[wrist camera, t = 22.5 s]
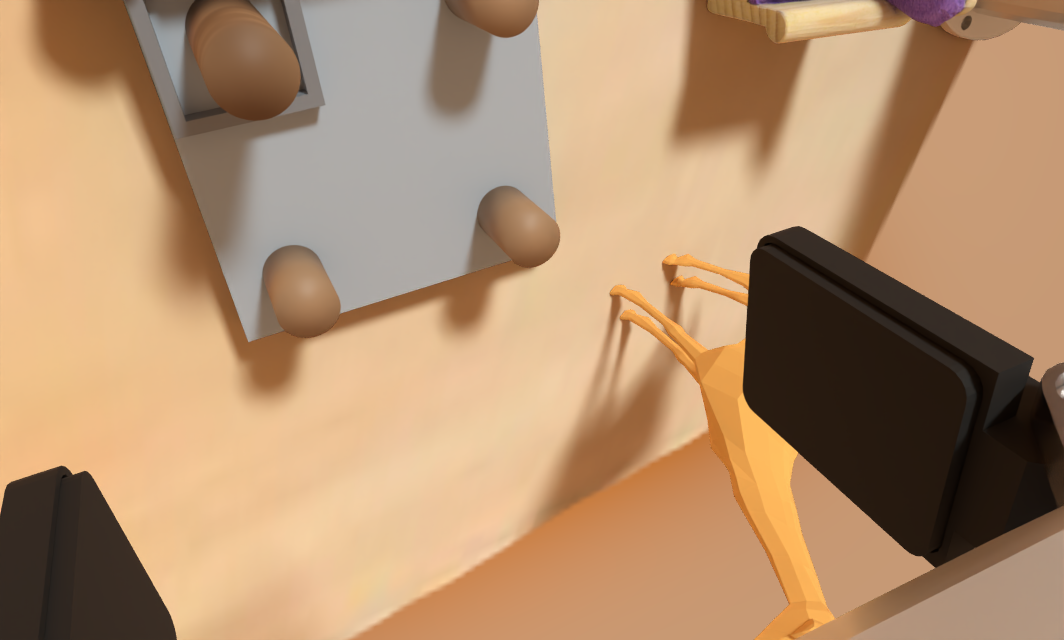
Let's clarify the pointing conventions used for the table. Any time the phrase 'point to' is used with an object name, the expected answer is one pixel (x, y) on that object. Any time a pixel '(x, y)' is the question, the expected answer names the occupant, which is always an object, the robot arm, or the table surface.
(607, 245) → the table surface
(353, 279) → the stool seat
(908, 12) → the toy sofa
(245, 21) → the leg peg
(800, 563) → the giraffe
